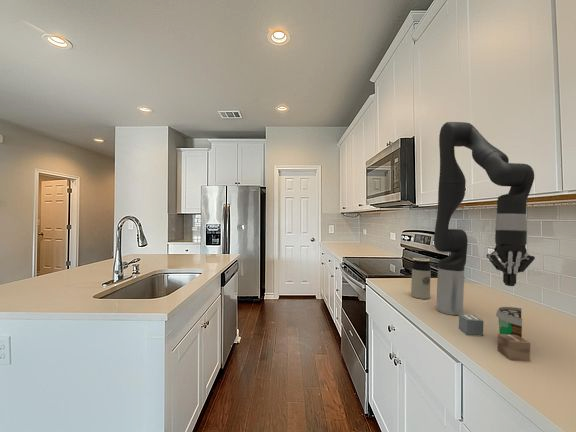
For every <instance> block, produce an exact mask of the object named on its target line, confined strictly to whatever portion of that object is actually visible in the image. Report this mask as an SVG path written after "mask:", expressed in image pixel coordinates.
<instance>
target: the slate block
mask: <svg viewBox="0 0 576 432" xmlns="http://www.w3.org/2000/svg"><path fill="white" fill-rule="evenodd" d="M459 329H460V330H459ZM458 330H459V331H461V332H462V333H463V334H465V335H466V336H475V337H476V336H477V337H483V336H484V320H483V319H481V318H479V317H478V316H476V315H475V314H462V315H460V314H459V315H458Z"/></svg>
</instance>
